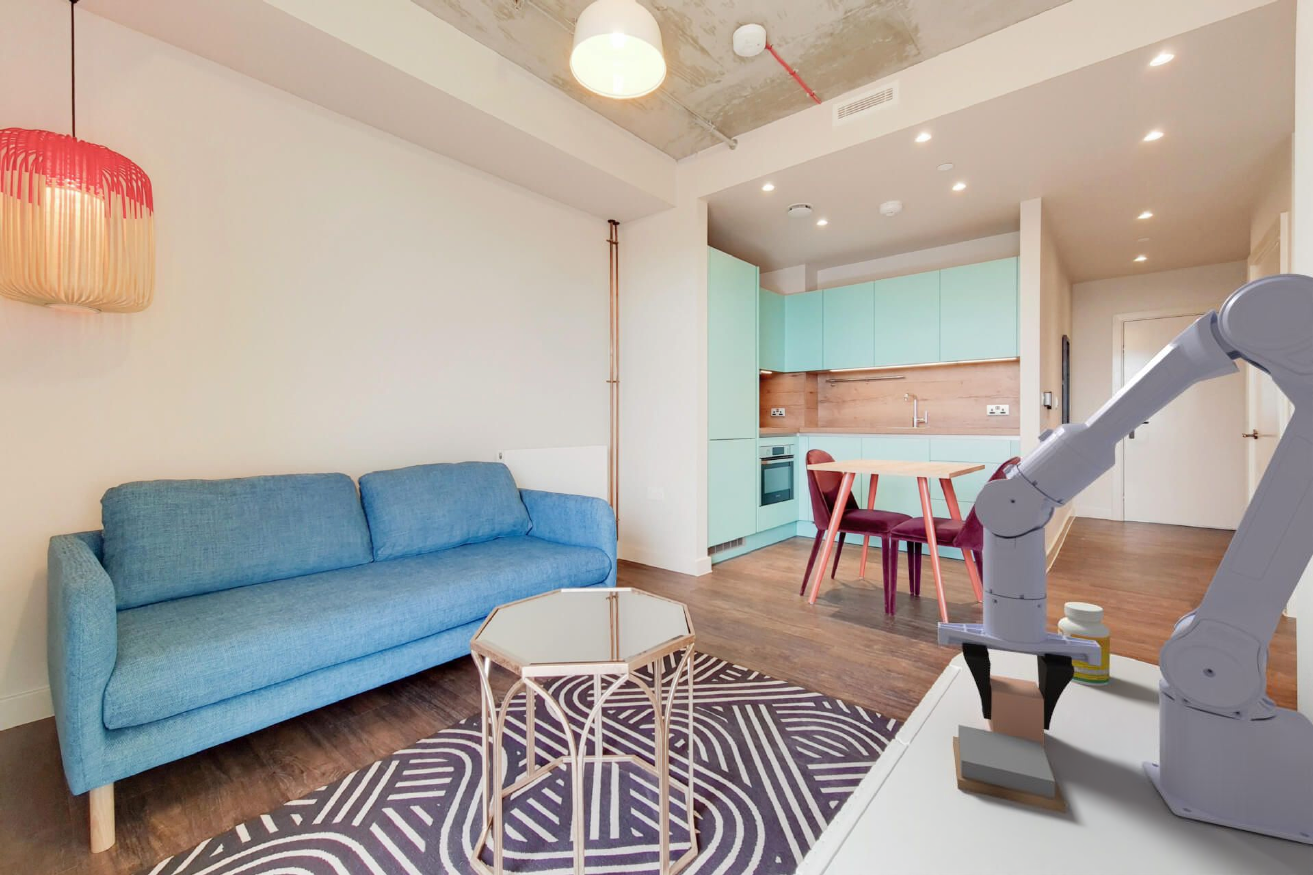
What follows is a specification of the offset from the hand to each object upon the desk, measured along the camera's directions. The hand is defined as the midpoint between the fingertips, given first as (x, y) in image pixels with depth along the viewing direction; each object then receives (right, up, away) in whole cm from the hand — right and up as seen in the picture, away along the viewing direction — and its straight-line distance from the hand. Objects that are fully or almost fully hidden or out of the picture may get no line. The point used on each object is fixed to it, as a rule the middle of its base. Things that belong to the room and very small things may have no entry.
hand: (1014, 720), depth 60 cm
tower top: (-6, -1, -7) cm, 9 cm away
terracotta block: (0, -1, 0) cm, 1 cm away
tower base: (-6, -2, -7) cm, 9 cm away
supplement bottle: (+17, -2, +13) cm, 22 cm away
